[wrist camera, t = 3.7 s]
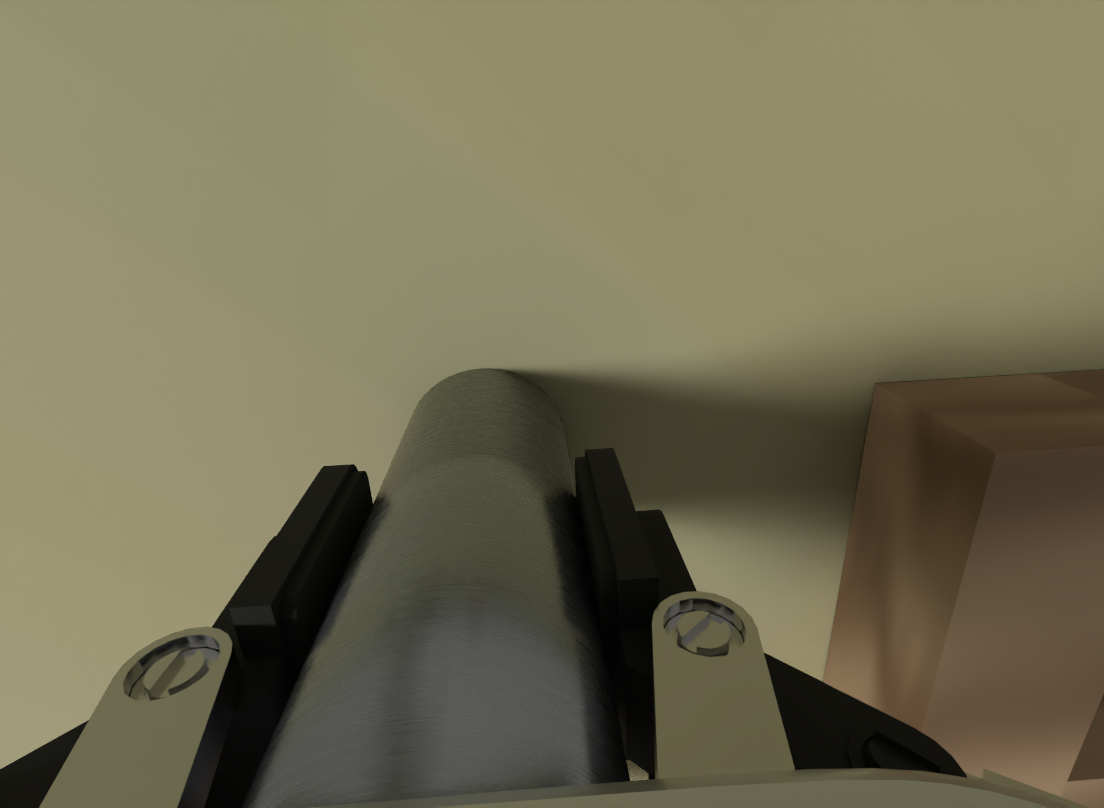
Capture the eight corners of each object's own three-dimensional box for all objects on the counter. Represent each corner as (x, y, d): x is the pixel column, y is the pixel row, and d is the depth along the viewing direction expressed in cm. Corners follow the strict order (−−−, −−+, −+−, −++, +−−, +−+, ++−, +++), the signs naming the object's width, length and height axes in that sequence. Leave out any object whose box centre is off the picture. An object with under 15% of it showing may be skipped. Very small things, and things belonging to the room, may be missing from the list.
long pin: (397, 373, 14) (-75, 1157, 3) (562, 364, 14) (735, 1072, 3) (418, 515, 15) (162, 1399, 4) (567, 505, 16) (694, 1333, 4)
